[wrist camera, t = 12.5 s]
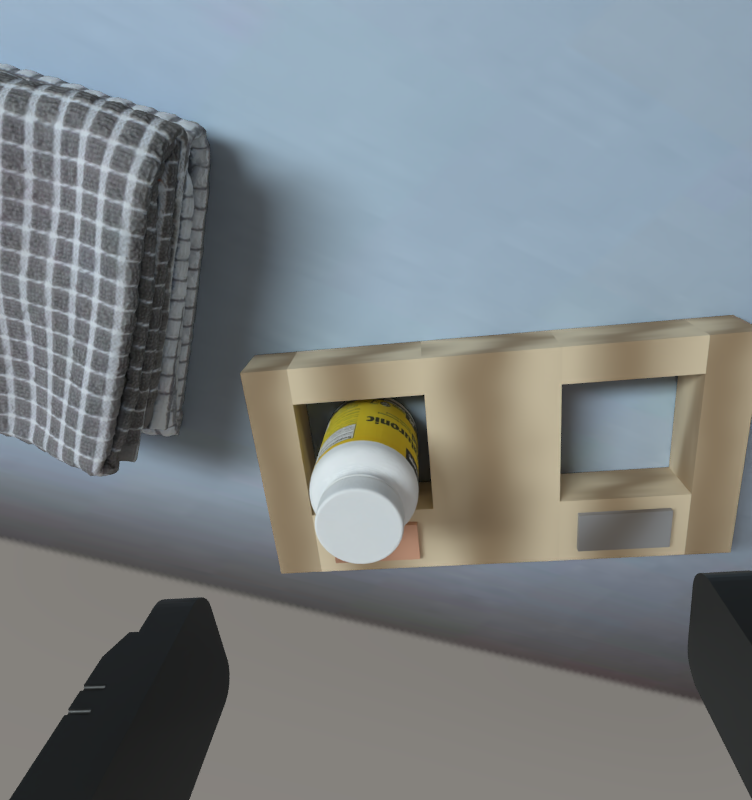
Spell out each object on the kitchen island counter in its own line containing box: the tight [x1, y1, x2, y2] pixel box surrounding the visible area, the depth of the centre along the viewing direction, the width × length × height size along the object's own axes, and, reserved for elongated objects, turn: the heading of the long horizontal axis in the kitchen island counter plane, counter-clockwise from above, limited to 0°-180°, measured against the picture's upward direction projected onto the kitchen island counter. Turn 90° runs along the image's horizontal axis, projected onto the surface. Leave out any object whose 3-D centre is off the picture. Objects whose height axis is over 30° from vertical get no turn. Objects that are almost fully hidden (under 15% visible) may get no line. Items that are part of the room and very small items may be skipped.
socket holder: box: [240, 315, 752, 573], centre depth 33 cm, size 26×13×3 cm, turn 96°
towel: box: [0, 64, 210, 476], centre depth 28 cm, size 15×18×8 cm
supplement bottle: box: [309, 398, 419, 564], centre depth 30 cm, size 5×5×10 cm
